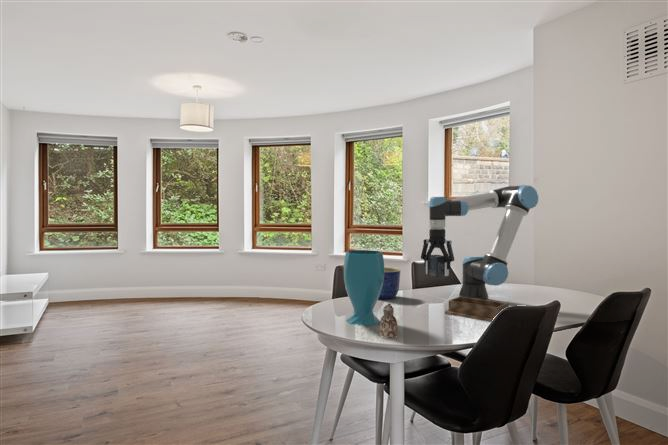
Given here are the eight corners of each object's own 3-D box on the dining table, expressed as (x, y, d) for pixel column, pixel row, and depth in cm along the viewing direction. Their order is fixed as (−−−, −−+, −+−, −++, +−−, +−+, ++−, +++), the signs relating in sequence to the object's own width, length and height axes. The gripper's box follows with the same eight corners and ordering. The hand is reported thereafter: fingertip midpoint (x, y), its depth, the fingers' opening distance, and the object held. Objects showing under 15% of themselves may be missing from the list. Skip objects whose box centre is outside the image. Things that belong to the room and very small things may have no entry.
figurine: (376, 337, 171) (377, 305, 170) (381, 332, 178) (382, 302, 177) (395, 339, 168) (395, 307, 168) (399, 334, 175) (399, 303, 174)
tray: (444, 313, 209) (445, 300, 208) (459, 307, 221) (459, 295, 221) (498, 322, 193) (498, 309, 192) (511, 316, 205) (511, 302, 205)
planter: (405, 296, 247) (405, 268, 246) (391, 302, 233) (392, 272, 232) (377, 293, 256) (377, 266, 256) (363, 298, 242) (363, 270, 241)
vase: (372, 328, 182) (372, 255, 181) (335, 322, 191) (336, 252, 190) (389, 319, 197) (390, 251, 196) (355, 314, 206) (356, 249, 205)
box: (446, 278, 215) (446, 256, 214) (436, 278, 213) (436, 256, 212) (437, 275, 222) (437, 254, 222) (427, 276, 220) (427, 254, 220)
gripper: (413, 228, 221) (413, 273, 222) (455, 229, 207) (455, 278, 207) (420, 227, 226) (420, 271, 227) (462, 229, 212) (461, 276, 213)
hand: (437, 274), depth 217 cm, fingers closed on box, 9 cm apart
